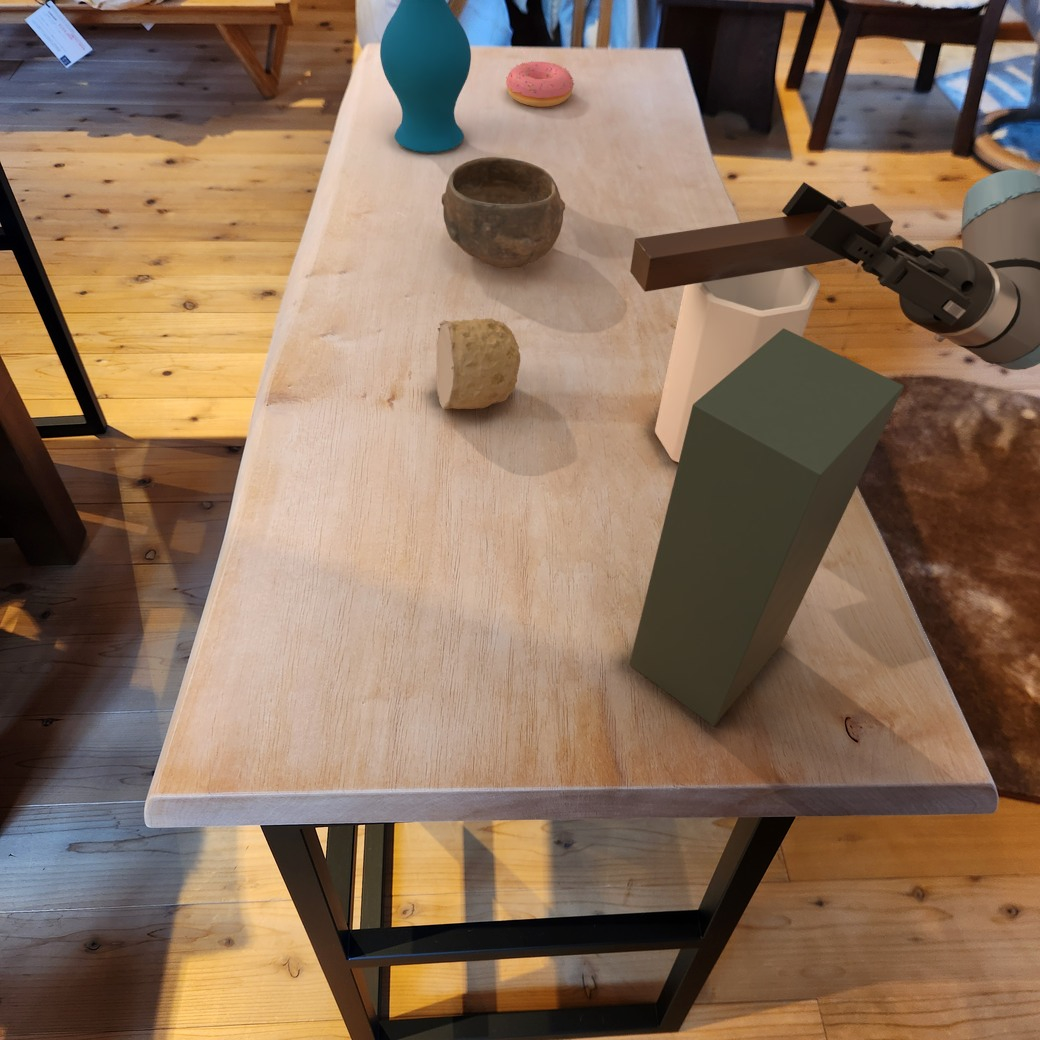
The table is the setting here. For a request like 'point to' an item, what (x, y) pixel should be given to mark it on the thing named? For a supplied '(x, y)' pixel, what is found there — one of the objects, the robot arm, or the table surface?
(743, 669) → the stand
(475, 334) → the cut tuber
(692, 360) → the cup
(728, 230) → the rod
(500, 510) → the table surface
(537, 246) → the bowl
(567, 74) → the doughnut
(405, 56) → the vase
